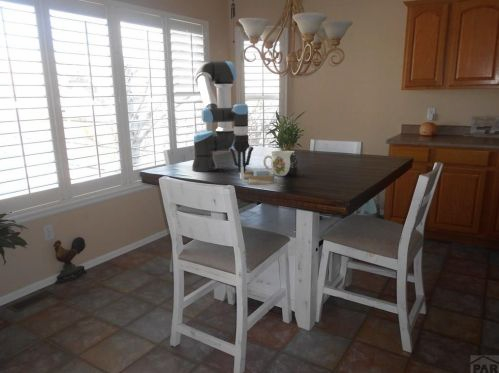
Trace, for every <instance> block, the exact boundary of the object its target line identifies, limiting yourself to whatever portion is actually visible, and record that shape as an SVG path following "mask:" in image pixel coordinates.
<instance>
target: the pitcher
mask: <svg viewBox="0 0 499 373" xmlns="http://www.w3.org/2000/svg"><path fill="white" fill-rule="evenodd" d="M294 153H295V151H293V150H275V151H271V155H265V156H264V159H263V166H264V168H266V169H267V170H269V171H272V172H273V173H272V174H273V175H274V176H276V177H277V176H278V177H283V176H287V174H289V171H290V168H291V159H290V158H291V156H292V154H294ZM267 158H269V159H270V166H271V167H269V166H268V165H267V163H266V160H267Z"/></svg>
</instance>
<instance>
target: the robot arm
mask: <svg viewBox="0 0 499 373" xmlns="http://www.w3.org/2000/svg"><path fill="white" fill-rule="evenodd" d="M236 72H237V71H236V68H235V64H234V63H233V62H232V61H226V60H224V61H220V60H219V61H212V60H211V61H210V60H209V61H208V60H207V61H204V62H201V64H200V65H199V66H198V67H197V68H196V70H195V72H194V80H195V83H196V85H198V89H199V94H200V97H201V101H202V105H203V108H202V109H201V120H202V122H203V123H217V128H216V129H215V133H214V132H213V131H212V130H208V131H205V130H204V131H201V132H196V133H194V135H193V151H194V153H193V154H194V158H193V162H192V165H191V169H192V171H194V172H203V173H204V172H212V171H216V170H217V167H218V166H217V163H216V160H215V157H214V153H223V152H225V153H226V152H230V154H231V155H232V161H233V165H235V167H237V173H239V178H240V179H241V180H245V179H244V172H245V171H246V167H247V166H249V165H250V161H251V156H252V153H253V151H254V147H253V146H250V143H249V106H248V104H244V103H242V104H240V103H237V104H234V105H233V106H232V86H233V85H234V82H236V80H237V73H236ZM212 82H213V84H212ZM213 85H214V86H215V88H216V95H215V91H214V88H213ZM232 126H233V127H232ZM235 151H236V152H237V158H236V153H235ZM247 151H248V152H247ZM246 152H247V154H246ZM246 155H247V156H246ZM241 161H242V162H241Z"/></svg>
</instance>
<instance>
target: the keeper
mask: <svg viewBox="0 0 499 373" xmlns="http://www.w3.org/2000/svg"><path fill="white" fill-rule="evenodd" d="M253 171H254V176H263V175H269V172H270V170H268V169H267V168H265V167H264V168H254V169H253Z"/></svg>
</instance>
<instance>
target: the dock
mask: <svg viewBox="0 0 499 373" xmlns="http://www.w3.org/2000/svg"><path fill="white" fill-rule="evenodd" d="M243 180H248V185H260V184H261V185H264V184H274V183H275V174H274V173H272V172H270V171H269V175H263V176H254V170H245V172H244V179H243Z"/></svg>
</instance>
